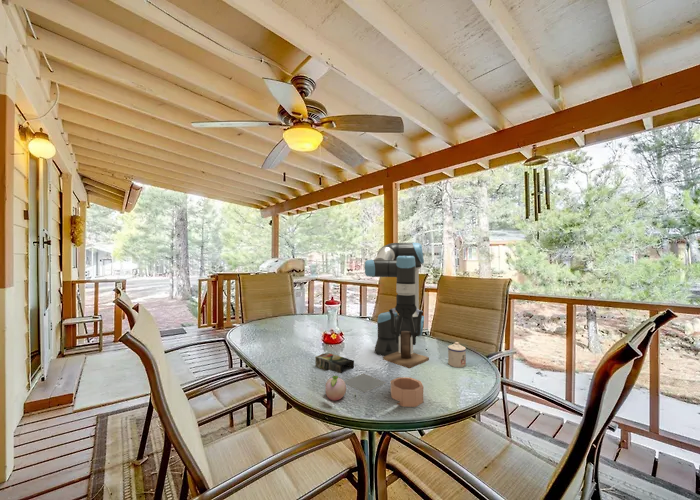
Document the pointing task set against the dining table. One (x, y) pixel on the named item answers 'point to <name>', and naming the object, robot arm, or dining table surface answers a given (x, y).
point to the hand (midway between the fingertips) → (405, 352)
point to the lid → (406, 353)
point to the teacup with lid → (456, 355)
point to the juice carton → (332, 362)
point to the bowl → (407, 391)
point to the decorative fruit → (335, 388)
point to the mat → (364, 382)
